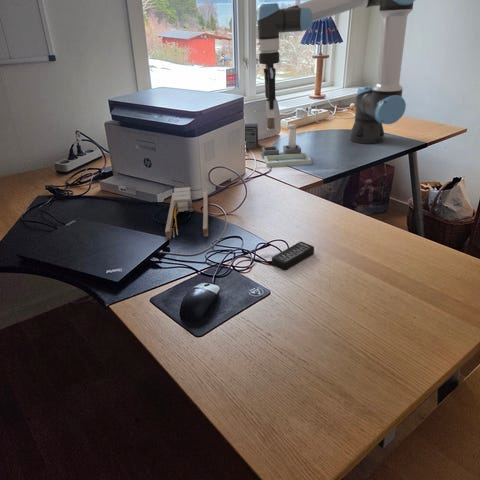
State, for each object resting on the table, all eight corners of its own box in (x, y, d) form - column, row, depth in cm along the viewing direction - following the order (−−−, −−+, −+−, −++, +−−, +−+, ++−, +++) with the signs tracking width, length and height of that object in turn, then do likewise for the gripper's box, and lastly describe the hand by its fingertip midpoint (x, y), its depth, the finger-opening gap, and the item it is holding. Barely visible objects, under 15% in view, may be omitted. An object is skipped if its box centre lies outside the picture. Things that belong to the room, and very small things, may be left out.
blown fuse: (274, 129, 170) (273, 98, 164) (275, 131, 167) (275, 100, 161) (266, 130, 170) (265, 99, 164) (267, 132, 167) (266, 100, 161)
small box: (258, 146, 190) (258, 122, 185) (257, 150, 184) (257, 126, 180) (235, 146, 191) (234, 123, 186) (233, 150, 186) (232, 126, 181)
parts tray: (306, 159, 170) (306, 153, 169) (311, 166, 162) (311, 160, 161) (264, 162, 170) (264, 155, 168) (267, 169, 162) (266, 163, 160)
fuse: (295, 153, 175) (295, 123, 169) (296, 155, 172) (297, 125, 166) (287, 153, 175) (287, 124, 169) (288, 155, 172) (288, 126, 166)
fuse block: (298, 153, 177) (298, 144, 175) (302, 158, 171) (302, 149, 169) (260, 156, 177) (260, 146, 175) (262, 161, 170) (262, 151, 169)
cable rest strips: (207, 197, 140) (207, 190, 139) (208, 236, 115) (207, 228, 114) (173, 199, 139) (172, 192, 138) (166, 239, 115) (165, 231, 113)
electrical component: (195, 245, 118) (193, 231, 114) (173, 247, 117) (171, 233, 114) (192, 198, 136) (191, 185, 133) (174, 199, 136) (172, 186, 132)
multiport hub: (271, 265, 101) (270, 257, 100) (300, 248, 107) (300, 240, 106) (284, 272, 98) (284, 263, 97) (314, 254, 104) (314, 246, 103)
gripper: (256, 50, 162) (259, 113, 173) (261, 54, 147) (263, 122, 158) (275, 49, 162) (277, 111, 173) (282, 52, 148) (283, 120, 159)
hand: (270, 116), depth 166 cm, fingers closed on blown fuse, 3 cm apart
